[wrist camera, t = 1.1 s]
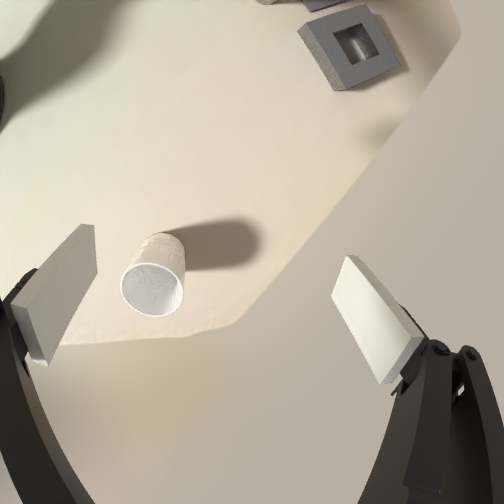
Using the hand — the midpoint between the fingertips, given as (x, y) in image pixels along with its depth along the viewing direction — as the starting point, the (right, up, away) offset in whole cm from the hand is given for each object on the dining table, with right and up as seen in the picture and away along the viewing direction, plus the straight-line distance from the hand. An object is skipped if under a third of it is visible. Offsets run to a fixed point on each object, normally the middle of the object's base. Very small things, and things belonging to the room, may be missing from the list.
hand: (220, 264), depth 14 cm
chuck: (+14, +29, +16) cm, 36 cm away
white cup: (-12, 0, +27) cm, 30 cm away
